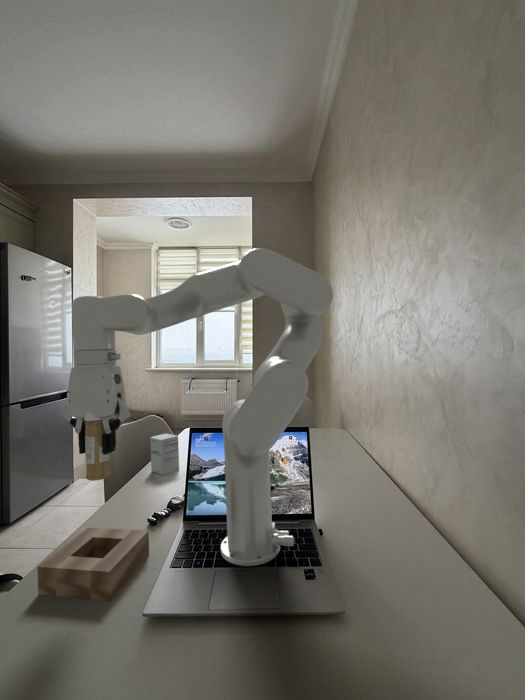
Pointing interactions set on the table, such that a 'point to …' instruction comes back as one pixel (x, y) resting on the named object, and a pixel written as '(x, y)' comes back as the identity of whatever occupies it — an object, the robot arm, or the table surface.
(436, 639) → the table surface
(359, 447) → the table surface
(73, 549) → the socket block
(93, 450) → the sprinkles bottle
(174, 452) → the supplement box
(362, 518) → the table surface
